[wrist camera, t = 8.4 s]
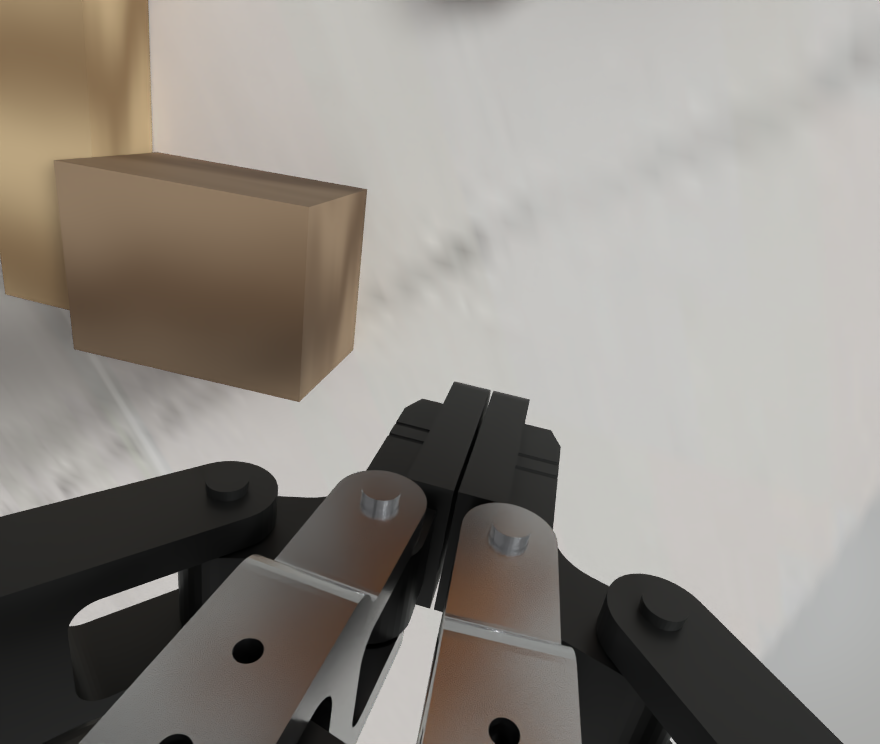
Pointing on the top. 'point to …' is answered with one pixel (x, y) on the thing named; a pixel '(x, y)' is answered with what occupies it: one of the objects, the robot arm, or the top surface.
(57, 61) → the oak board
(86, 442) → the top surface
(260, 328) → the walnut block
